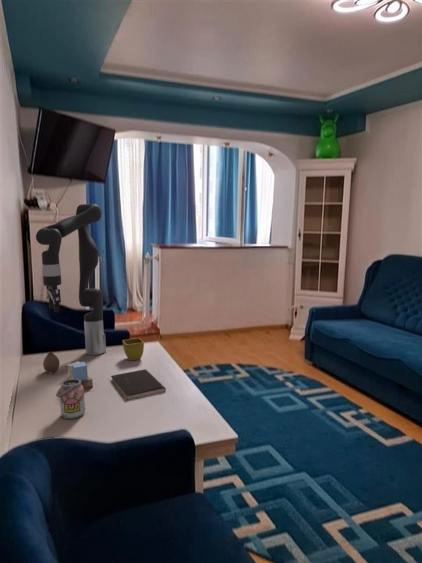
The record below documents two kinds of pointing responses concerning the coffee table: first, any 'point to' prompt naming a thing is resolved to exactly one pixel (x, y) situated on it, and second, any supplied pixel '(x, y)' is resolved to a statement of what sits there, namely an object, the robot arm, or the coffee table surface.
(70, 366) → the beech block
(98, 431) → the coffee table surface
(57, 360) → the brown oval piece
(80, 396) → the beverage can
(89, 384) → the walnut base
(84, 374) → the blue block
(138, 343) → the flower pot
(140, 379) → the hardcover book
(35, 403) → the coffee table surface
